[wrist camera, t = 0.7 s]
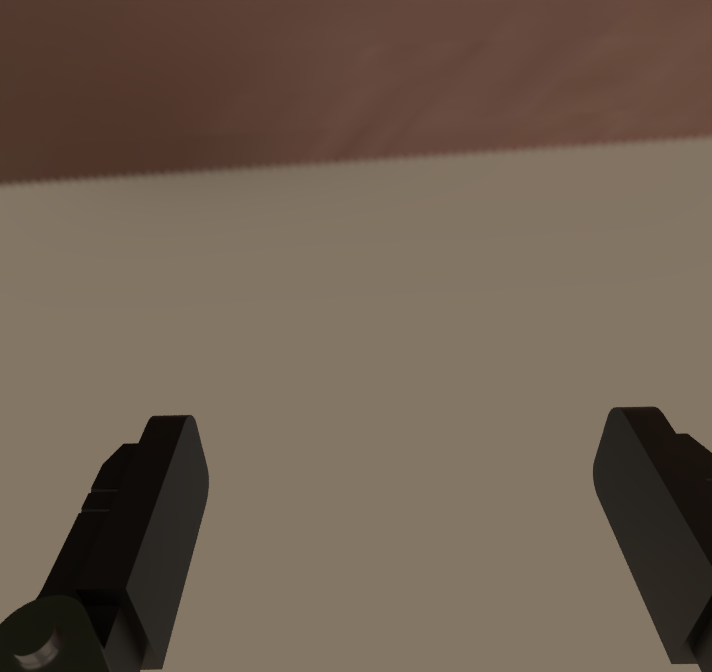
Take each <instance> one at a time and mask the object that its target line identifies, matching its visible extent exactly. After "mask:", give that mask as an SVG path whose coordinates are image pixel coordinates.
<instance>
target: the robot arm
mask: <svg viewBox="0 0 712 672" xmlns="http://www.w3.org/2000/svg"><path fill="white" fill-rule="evenodd" d="M593 480H594V486H595V490H596V493H597V496H598V498H599V500H600V502H601V505H602V507H603V509H604V512H605V514H606V516H607V518H608V521H609V523H610V525H611V527H612V530H613V532H614V534H615V537H616V539H617V541H618V544H619V546H620V548H621V550H622V553H623V555H624V557H625V559H626V562H627V564H628V566H629V568H630V571H631V573H632V575H633V578H634V580H635V582H636V584H637V586H638V589H639V591H640V593H641V596H642V598H643V600H644V602H645V605H646V607H647V609H648V611H649V614H650V616H651V618H652V621H653V623H654V625H655V627H656V630H657V632H658V634H659V637H660V639H661V641H662V643H663V646H664V648H665V650H666V652H667V655H668V657H669V659H670V661H671V664H698V665H699V667H700V669H701V671H702V672H712V453H711V452H710V451H709V450H707V449H706V448H705V447H704V446H702V445H701V444H700V443H699V442H697V441H696V440H695V439H693V438H692V437H691V436H690V435H688V434H676V433H675V431H674V430H673V428H672V427H671V425H670V424H669V422H668V420H667V419H666V417H665V416H664V414H663V413H662V412H661V411H660V410H659V409H658V408H656V407H616V408H613V409H611V411H610V412H609V414H608V417H607V421H606V424H605V427H604V431H603V434H602V437H601V440H600V444H599V447H598V450H597V454H596V457H595V460H594V465H593ZM208 488H209V475H208V468H207V464H206V460H205V456H204V452H203V448H202V444H201V440H200V436H199V432H198V428H197V425H196V421H195V419H194V417H193V416H192V415H174V416H152V417H151V418H150V419H149V421H148V423H147V425H146V427H145V430H144V432H143V434H142V436H141V439H140V441H139V443H137V444H135V443H133V444H123V445H122V446H121V447H120V448H119V449H118V450H117V451H116V452H115V453H114V454H113V455H112V456H111V457H110V458H109V459H108V460H107V461H106V462H105V463H104V464H103V465H102V467H101V469H100V471H99V473H98V475H97V477H96V479H95V481H94V483H93V485H92V487H91V493H89V494H88V496H87V498H86V500H85V502H84V504H83V506H82V511H81V513H79V514H78V516H77V518H76V520H75V522H74V525H73V527H72V529H71V531H70V533H69V535H68V537H67V539H66V541H65V543H64V545H63V547H62V549H61V551H60V553H59V555H58V557H57V560H56V562H55V564H54V566H53V568H52V570H51V572H50V574H49V576H48V578H47V580H46V582H45V584H44V586H43V588H42V590H41V592H40V594H39V595H38V597H37V598H36V600H33V601H31V602H29V603H27V604H25V605H23V606H22V607H21V608H19V609H17V610H16V611H14V612H13V613H12V614H10V615H9V616H8V617H7V618H6V619H5V620H4V621H3V622H2V623H1V624H0V672H140V670H146V669H147V670H150V669H162V667H163V664H164V660H165V656H166V652H167V648H168V645H169V641H170V637H171V634H172V630H173V626H174V622H175V618H176V615H177V611H178V607H179V604H180V600H181V596H182V592H183V588H184V585H185V581H186V577H187V573H188V570H189V566H190V562H191V558H192V555H193V551H194V547H195V543H196V540H197V536H198V532H199V528H200V524H201V521H202V517H203V513H204V509H205V506H206V502H207V497H208Z"/></svg>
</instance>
